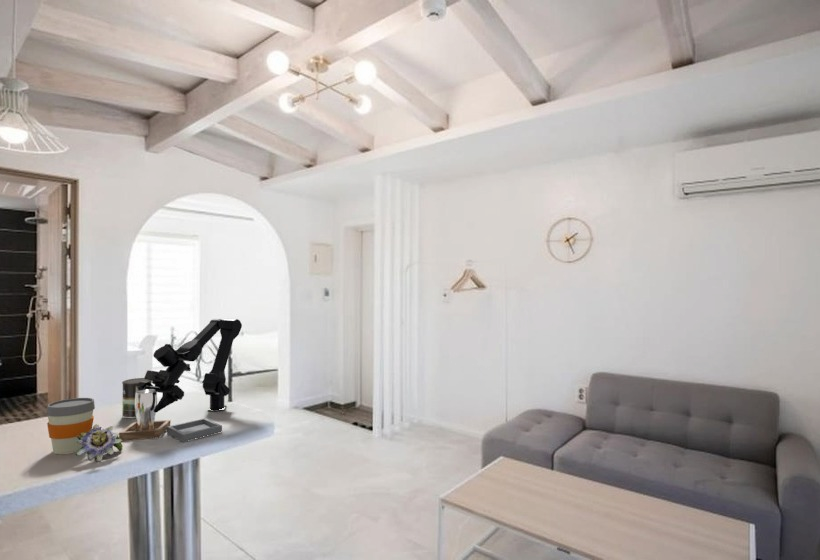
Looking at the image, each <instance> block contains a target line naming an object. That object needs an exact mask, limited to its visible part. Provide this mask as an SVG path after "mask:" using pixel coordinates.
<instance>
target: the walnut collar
mask: <svg viewBox="0 0 820 560" xmlns="http://www.w3.org/2000/svg"><path fill="white" fill-rule="evenodd" d="M154 425H155V430H145V431H137V430H136V429H137V421H133V422H132V423H131V424H129V425H128V426H126V428H124V429H123V430H121V431H120V432H118V433H119V435H118V437H119V438H120V439H121V440H122V441H129V440H133V441H134V440H147V439H159V438H161V436H162V435H163V434H164V433H166V432H167V431H166V430H167V427H168V426H171V419H165V420H155V421H154Z"/></svg>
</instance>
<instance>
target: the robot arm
mask: <svg viewBox="0 0 820 560" xmlns="http://www.w3.org/2000/svg"><path fill="white" fill-rule="evenodd" d="M242 327H243V324H242V322H241V320H239V319H238V318H237V319H236V318H235V319H234V318H225V319H222V318H213V319H211V320H210V321H209V323H208V324H207V325H206V326H205V327H204V328H203V329H202V330H200V332H199V333H198V334H197V335H196V336H195V337H194V338H193V339H192V340H190V341H187V342H185V343H183V344H182V345H181V346H179V347H178V348H177V349H174V347H173V345H172V344H170V343H165V344H164V346H163V345H162V346H161V347H159V348H157V349H156V350H155V351H154V353H153V358H154V359H155V360H156V361H157V362H158V363H160V365H162V366H163V367H165V368H166V367H167V368H166V369H165V370H164V369H160V370H159V371H157V370H146V372H145V375H144V377H143V378H144V379H148V380H151V381H152V382H151V383H150V382H145V381H142V382H139V383H138V385H137V386H136V387H137V388H138V390H139V391H140V390H146V389H155V390H157V393H161V395H162V397H160V400H159V401H158V402H157V406H156V407H155V409H154V412H155V413H156V414H157V413H158V412H159V411H161V410H163V409H165V408H166V407H168V406H169V405H172V404H173V403H175V402H178V401H179V400H183V398H184V396H185V391H184V390H183V389H182V388H181V387H180V386H179V385H177V384H179V383H180V382H181V381H180V380H179V379H180V378H181V376H182V375H183V374H184V372H185V371H186V372H191V370H192V369H191V364H190V363H186V362H195V361H196V360H197V359H198V358H199V357H200V355H201V353H202V352H203V348H204V347H205V346H206V344H207V343H208V342H209V341H211V339H212V338H214V336H215V335H216V334H217V333H218V332H219V333H220V337H221V338H220V342H219V346H218V347H217V352H216V356H215V358H214V362H213V365H212V368H211V370H210V371H209V372H206V373H205V374H204V376H203V377H204V378H203V380H202V389H203V390H204V394H205V395H206V396H209V408H210V409H211V410H219V409H222V408H224V407H226V408H227V404H225V397H226V396H227V395H228V396H229V395H230V391H231V389H230V388H229V387H228V385H226V375H225V369H226V365H227V364H228V361H229V360H228V359H229V356H230V353H231V349H232V346H233V343H234V340H235V339H236V338H237V337H238V336H239V334H240V332H241V330H242Z"/></svg>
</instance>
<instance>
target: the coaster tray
mask: <svg viewBox="0 0 820 560" xmlns="http://www.w3.org/2000/svg"><path fill="white" fill-rule="evenodd" d="M221 431H222V432H223V425H222V424H219V423H217V422H215V421H212V420H210V419H208V418H206V417H204V418H198V419H195V420H190V421H186V422H182V423H178V424H171V425H170V426H168V427H167V431H166V434H167V435H169V436H170V435H171V436H170V437H172V438H174V439H176V440H178V441H180V442H181V443H185V442H186V441H187V442H189V441H188V440H191V439H194V440H196V439H195V438H198V439H201V438H200V437H202V438H204V437H203V436H206V437H208V436H207V435H210V436H212V435H211V434H214V433H218V432H221ZM218 434H219V433H218ZM214 435H215V434H214ZM191 441H192V440H191Z"/></svg>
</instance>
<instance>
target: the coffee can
mask: <svg viewBox="0 0 820 560" xmlns="http://www.w3.org/2000/svg"><path fill="white" fill-rule="evenodd" d="M142 381H145V382H150V383H151V384H152V381H151V380H148V379H144V377H137V378H136V377H135V378H129V379H126V380H123V381H122V410H121V411H122V414H121V417H122V419H126V418H135V419H137V418H136V413H135V394H136V392H137V391H139V390H138V388H137V387H136V386H137V385H138V383H139V382H142Z"/></svg>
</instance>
